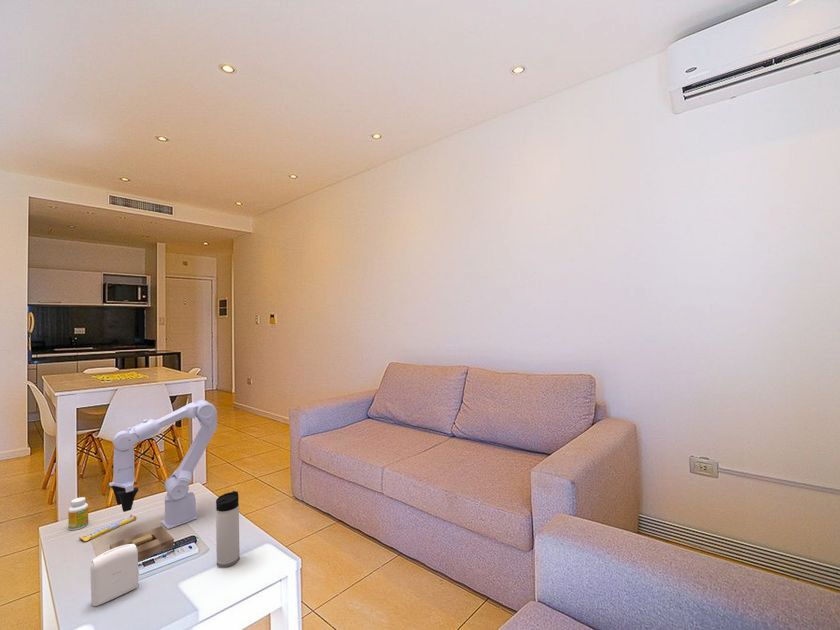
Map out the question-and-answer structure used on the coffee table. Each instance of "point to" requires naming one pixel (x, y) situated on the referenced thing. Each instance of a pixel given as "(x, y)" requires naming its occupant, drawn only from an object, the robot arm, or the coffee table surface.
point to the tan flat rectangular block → (142, 540)
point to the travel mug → (227, 529)
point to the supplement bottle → (78, 514)
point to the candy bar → (108, 528)
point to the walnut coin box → (149, 543)
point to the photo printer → (114, 573)
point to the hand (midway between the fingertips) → (124, 507)
